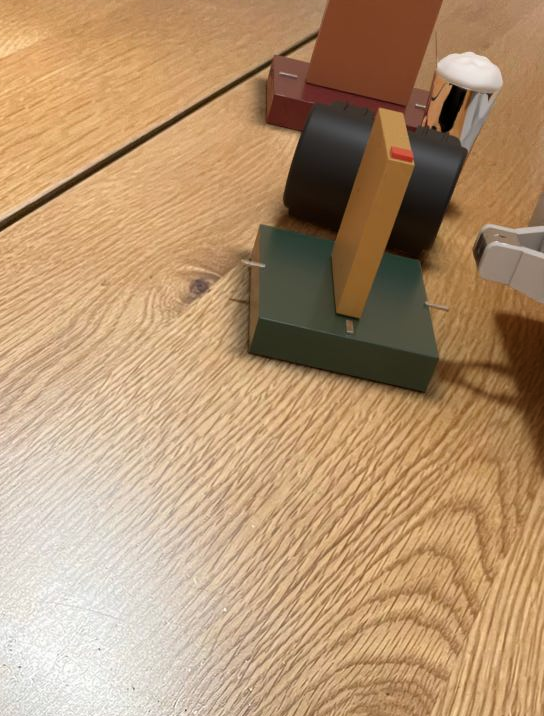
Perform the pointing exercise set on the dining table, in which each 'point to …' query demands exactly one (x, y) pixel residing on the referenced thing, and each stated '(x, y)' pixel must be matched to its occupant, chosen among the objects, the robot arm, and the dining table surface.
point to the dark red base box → (323, 97)
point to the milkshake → (462, 96)
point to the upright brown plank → (373, 46)
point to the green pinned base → (336, 331)
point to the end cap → (341, 164)
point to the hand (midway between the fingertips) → (479, 249)
